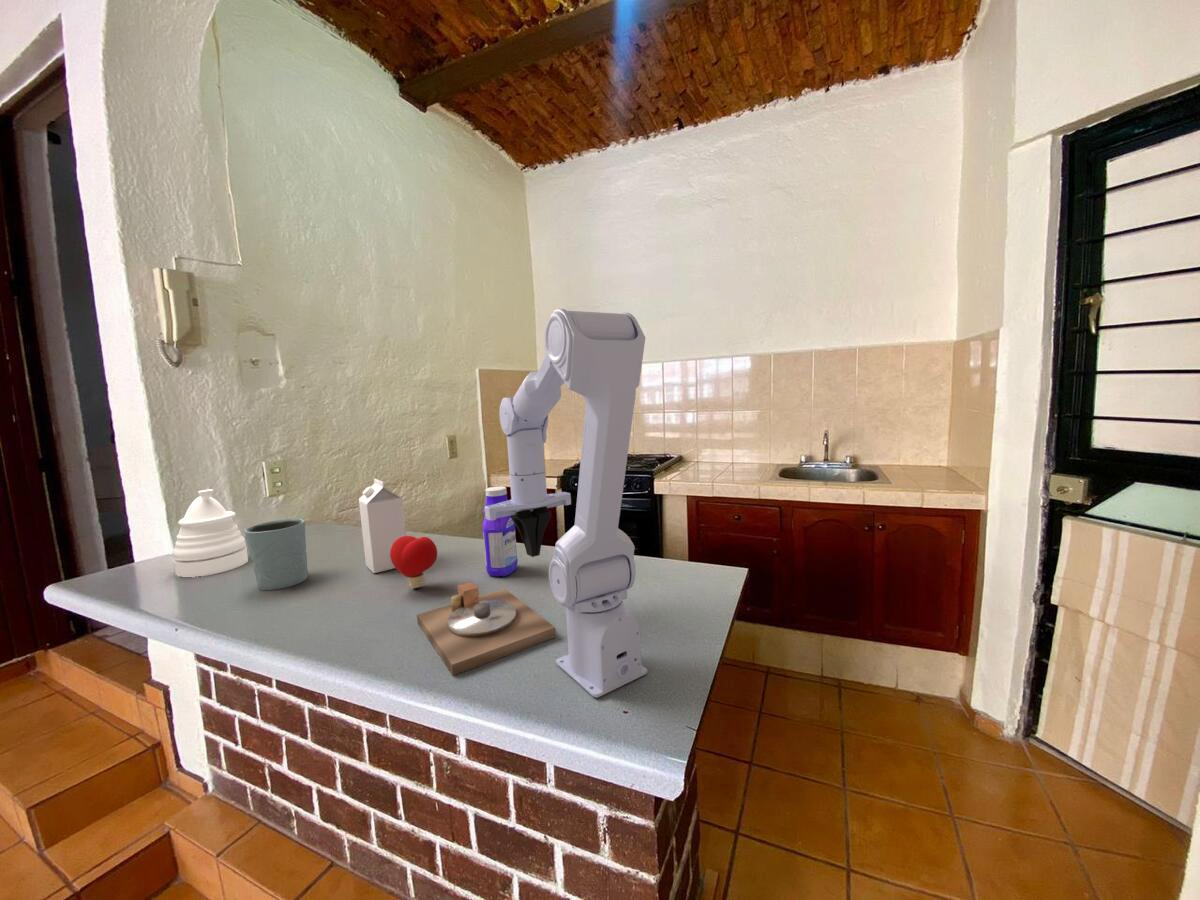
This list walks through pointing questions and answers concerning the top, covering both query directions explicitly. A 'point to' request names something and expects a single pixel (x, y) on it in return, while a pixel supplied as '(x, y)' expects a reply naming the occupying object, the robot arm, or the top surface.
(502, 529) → the bottle
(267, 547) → the teal cylindrical pot
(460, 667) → the mounting board
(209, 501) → the honey pot
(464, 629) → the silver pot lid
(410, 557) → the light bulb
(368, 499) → the milk carton
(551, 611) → the top surface
